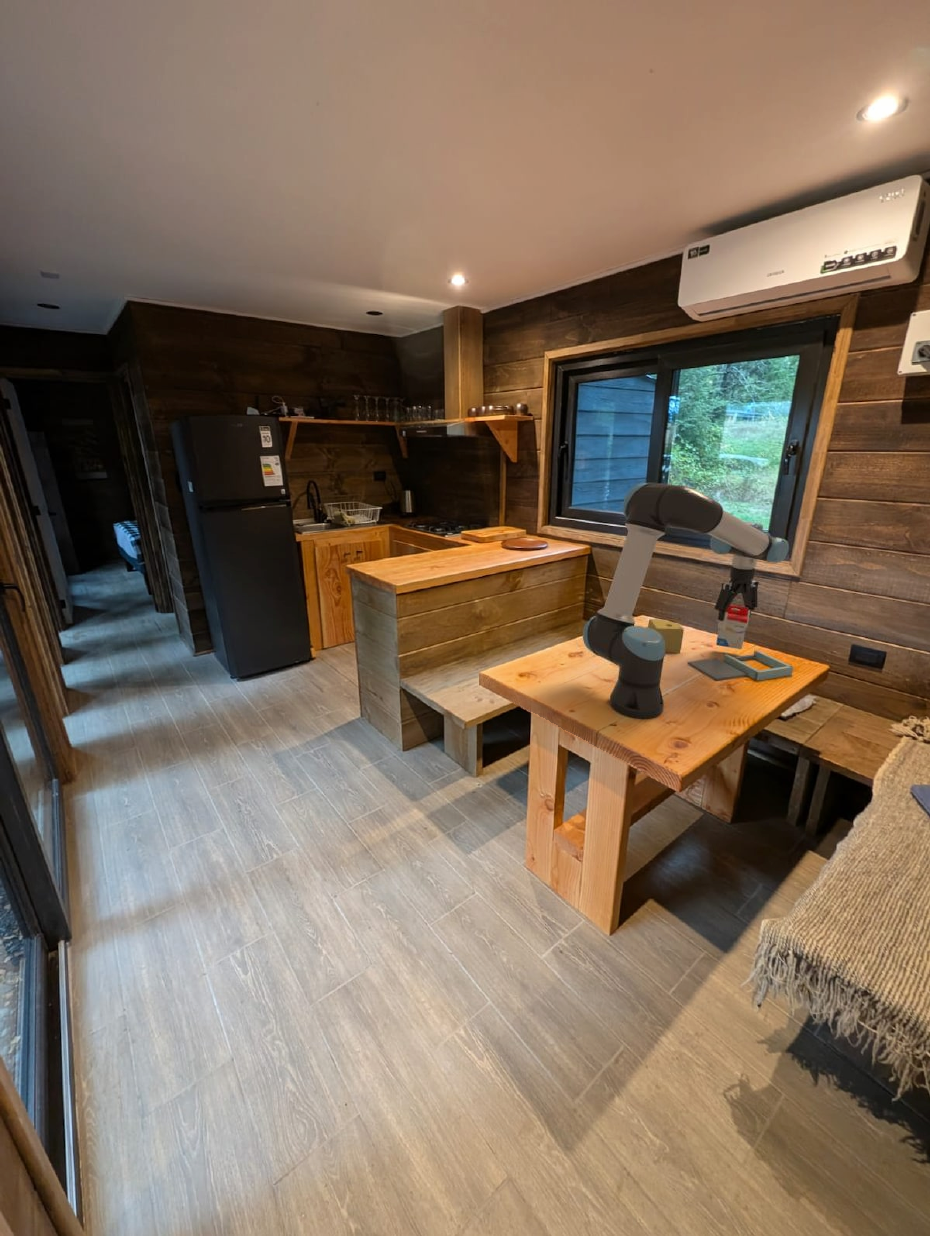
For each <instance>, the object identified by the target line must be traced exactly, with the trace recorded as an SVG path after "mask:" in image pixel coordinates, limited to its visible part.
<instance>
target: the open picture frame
mask: <svg viewBox="0 0 930 1236" xmlns="http://www.w3.org/2000/svg"><path fill="white" fill-rule="evenodd" d="M750 660H752V661H753V660H756V661H758V662H760V663H761V664H764V665H766V666H768V667H770V668H766V669H765V668H764V669H760V670H759V669H757V668H754V667H753V666H751V665H749V664H747V663H745V661H750ZM722 661H723V662H725V663H727V664H729V665H730V666H732V667H734V668H736V669H738V670H740V671H742V672H744V673H745V674H747V675H746V677H750V678H751V679H753V680H755V681H756V682H759V681H763V680H770V679H776V678H783V677H789V676H792V675H793V672H794V666H792V665H790V664H788V663H786V662H784V661H782V660H780V659H777V658H776V657H773V656H771V655H769V654H767V653H765V652H762V651H760V650H758V649H757V650H754V652H753V653H752V654H745V655H739V656H731V655H729V654H723V658H722Z"/></svg>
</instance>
